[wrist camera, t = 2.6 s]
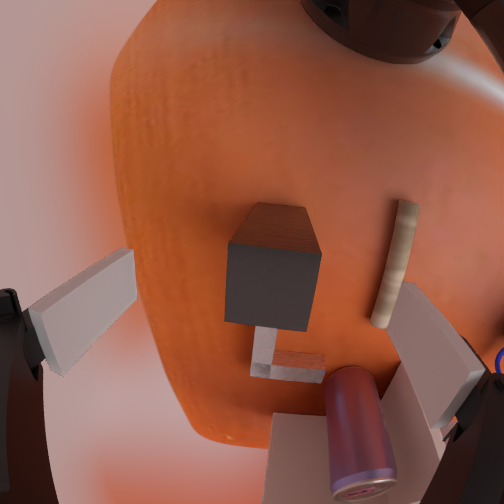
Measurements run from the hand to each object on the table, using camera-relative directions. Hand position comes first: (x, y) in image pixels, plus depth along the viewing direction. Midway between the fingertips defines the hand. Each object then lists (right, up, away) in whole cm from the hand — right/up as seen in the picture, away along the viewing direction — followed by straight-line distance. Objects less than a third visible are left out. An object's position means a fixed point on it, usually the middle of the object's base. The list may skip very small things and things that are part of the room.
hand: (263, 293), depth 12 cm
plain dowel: (+13, +1, +11) cm, 17 cm away
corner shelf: (+10, -16, +17) cm, 25 cm away
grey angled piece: (+3, -2, +13) cm, 14 cm away
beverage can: (+11, -13, +16) cm, 23 cm away
